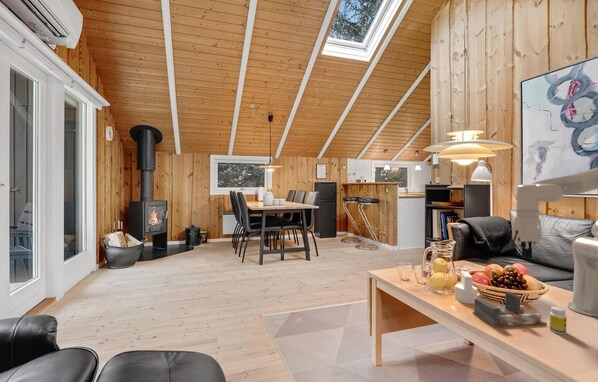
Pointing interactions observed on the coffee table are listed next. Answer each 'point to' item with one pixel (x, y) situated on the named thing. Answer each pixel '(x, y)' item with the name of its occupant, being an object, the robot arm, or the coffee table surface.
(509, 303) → the l-shaped angle bracket
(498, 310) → the gauge base
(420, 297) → the coffee table surface
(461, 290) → the cylinder with rectangular tab
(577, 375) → the coffee table surface
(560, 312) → the supplement bottle
